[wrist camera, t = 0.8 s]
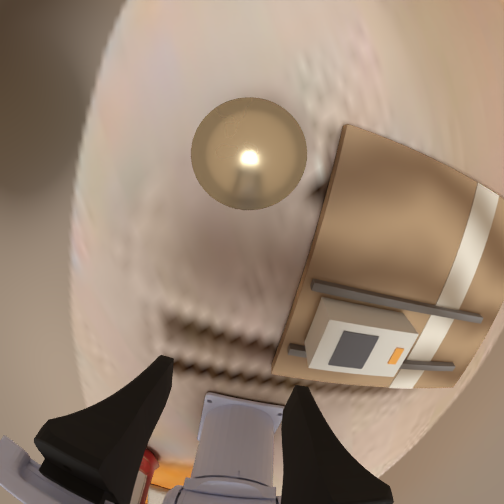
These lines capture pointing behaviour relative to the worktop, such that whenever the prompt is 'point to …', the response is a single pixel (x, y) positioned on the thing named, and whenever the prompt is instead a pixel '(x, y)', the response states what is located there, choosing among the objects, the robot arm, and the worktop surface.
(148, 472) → the liquor
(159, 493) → the washcloth
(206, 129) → the marbled round peg
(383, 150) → the board
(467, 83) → the worktop surface
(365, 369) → the block
